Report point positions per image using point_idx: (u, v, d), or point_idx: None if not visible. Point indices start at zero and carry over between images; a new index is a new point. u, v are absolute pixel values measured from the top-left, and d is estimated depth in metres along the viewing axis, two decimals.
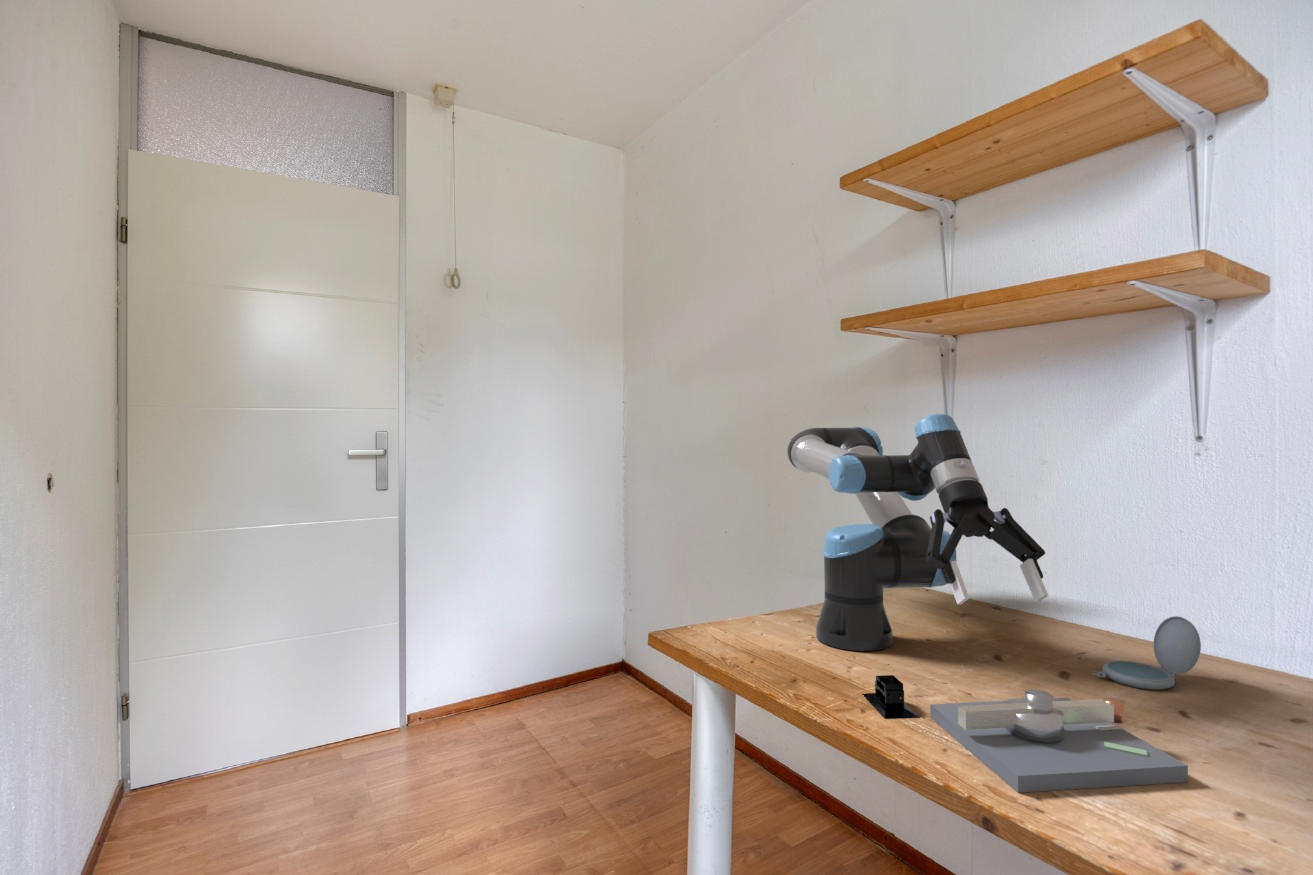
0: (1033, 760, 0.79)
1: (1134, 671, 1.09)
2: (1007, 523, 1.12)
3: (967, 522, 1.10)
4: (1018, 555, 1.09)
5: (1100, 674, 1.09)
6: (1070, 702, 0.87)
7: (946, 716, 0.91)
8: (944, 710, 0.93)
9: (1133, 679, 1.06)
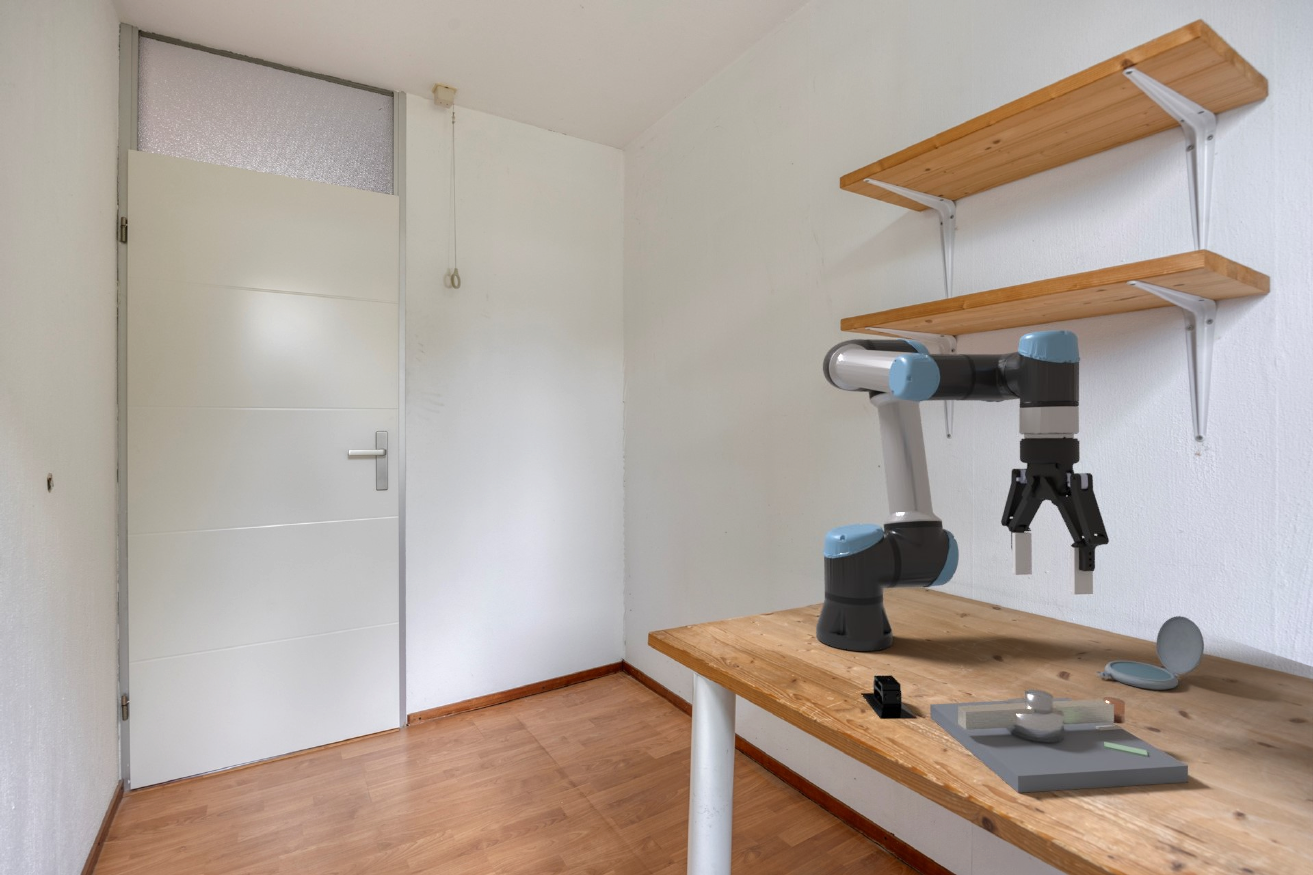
0: (1033, 760, 0.79)
1: (1137, 671, 1.09)
2: None
3: None
4: (1021, 523, 1.00)
5: (1103, 674, 1.09)
6: (1070, 702, 0.87)
7: (946, 716, 0.91)
8: (944, 710, 0.93)
9: (1136, 679, 1.06)
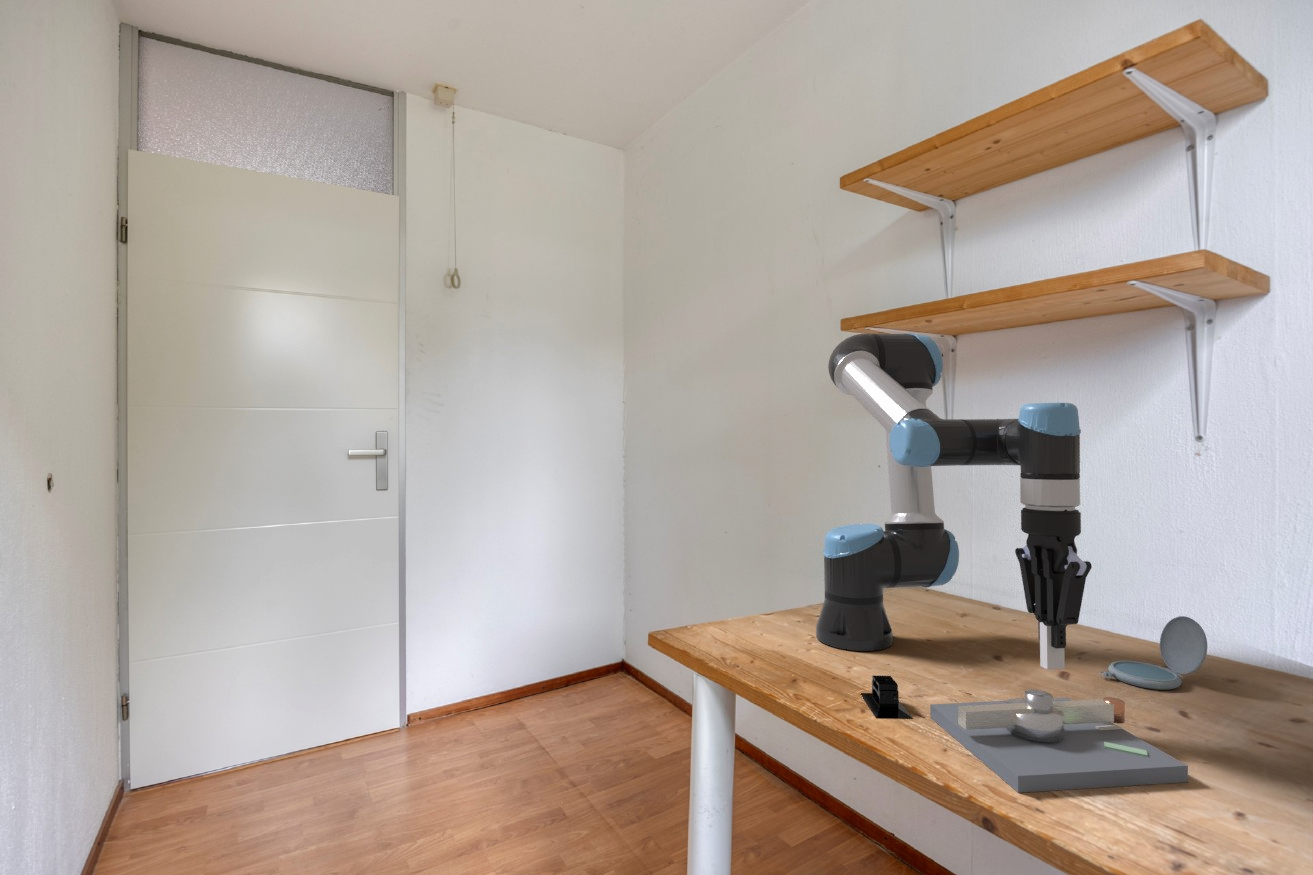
0: (1033, 760, 0.79)
1: (1140, 671, 1.09)
2: None
3: None
4: (1045, 607, 0.94)
5: (1106, 674, 1.09)
6: (1070, 702, 0.87)
7: (946, 716, 0.91)
8: (944, 710, 0.93)
9: (1139, 679, 1.06)
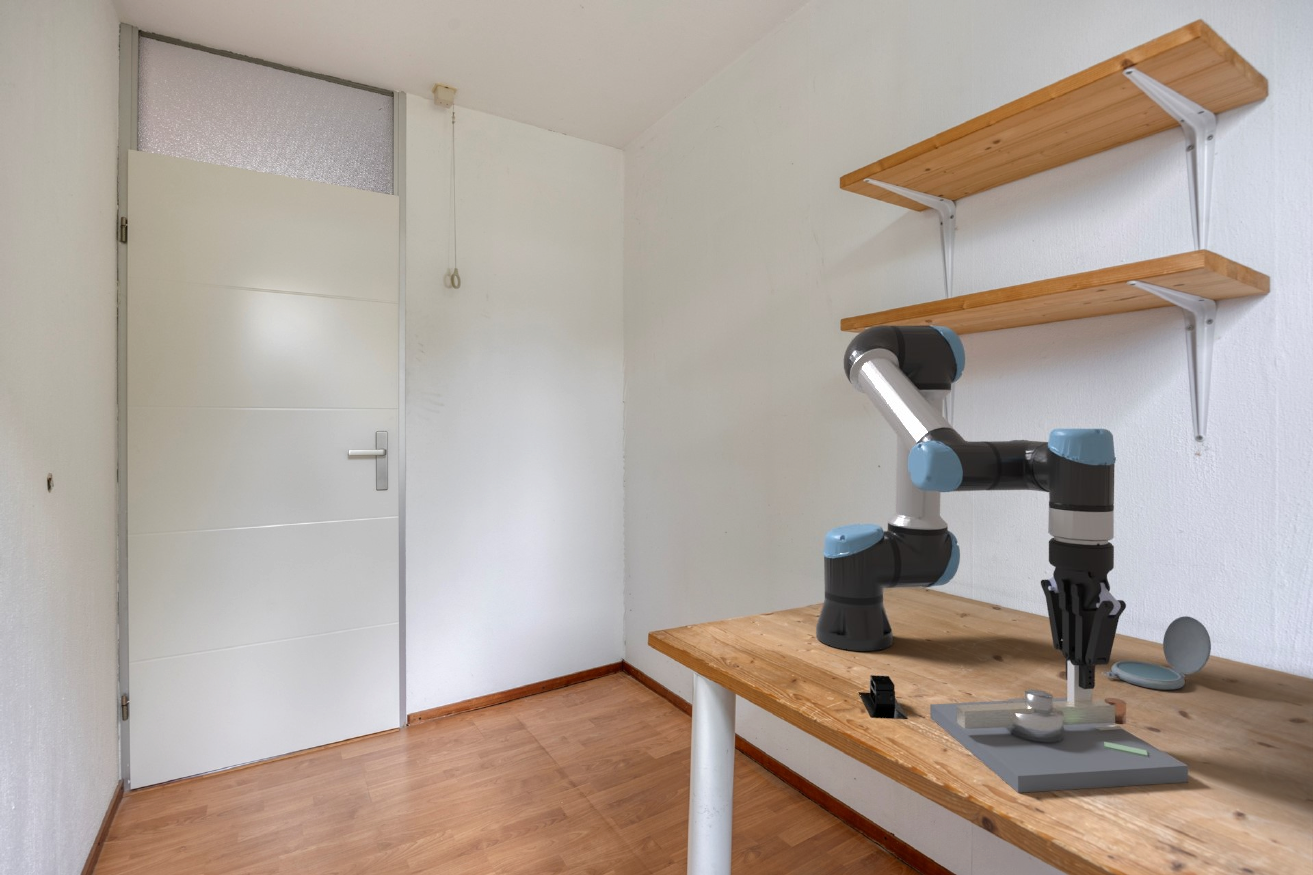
0: (1033, 760, 0.79)
1: (1144, 671, 1.09)
2: None
3: None
4: (1073, 644, 0.89)
5: (1109, 674, 1.09)
6: (1071, 702, 0.87)
7: (946, 716, 0.91)
8: (944, 710, 0.93)
9: (1143, 679, 1.06)
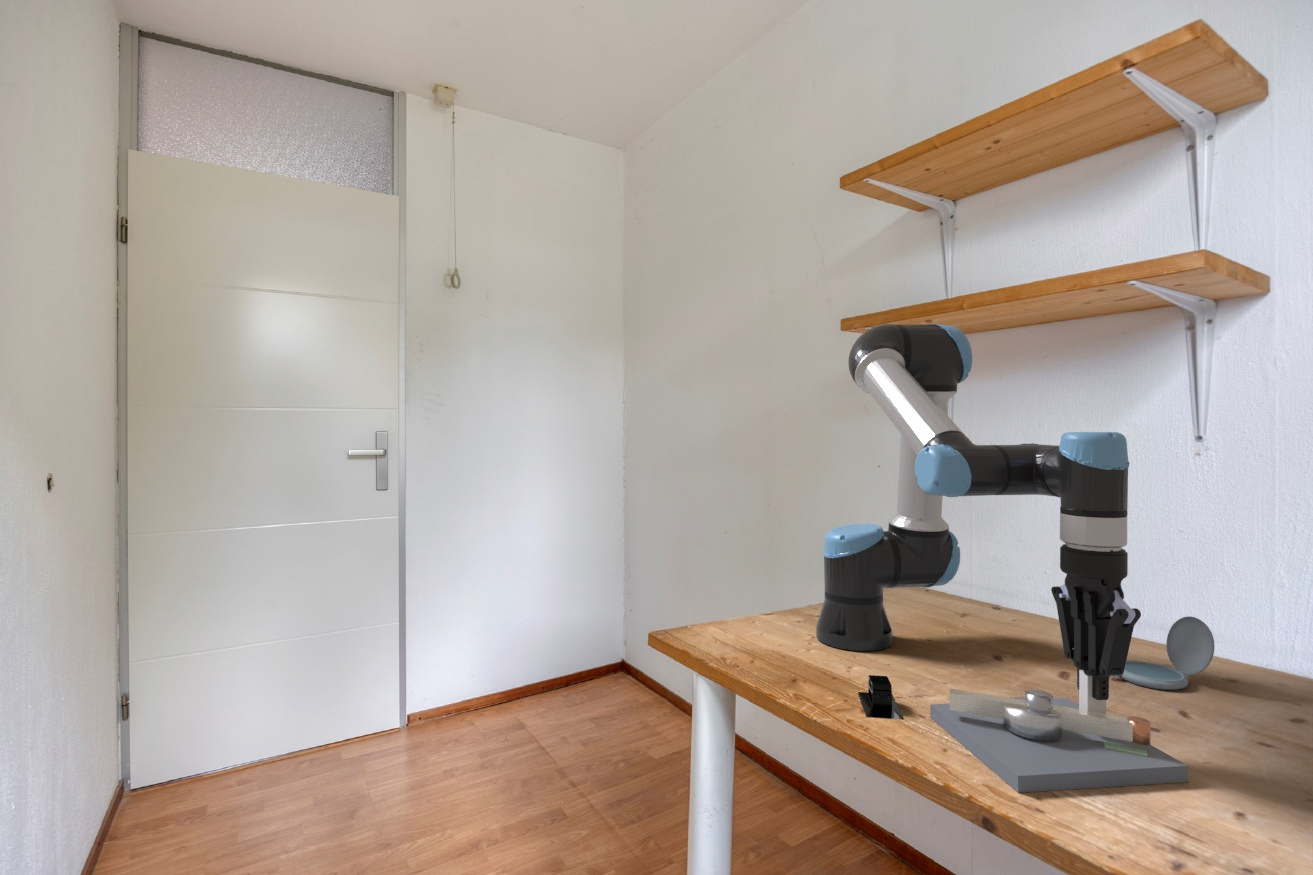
0: (1033, 760, 0.79)
1: (1147, 671, 1.09)
2: None
3: None
4: (1085, 653, 0.86)
5: None
6: (1081, 711, 0.84)
7: (946, 716, 0.91)
8: (944, 710, 0.93)
9: (1146, 679, 1.06)
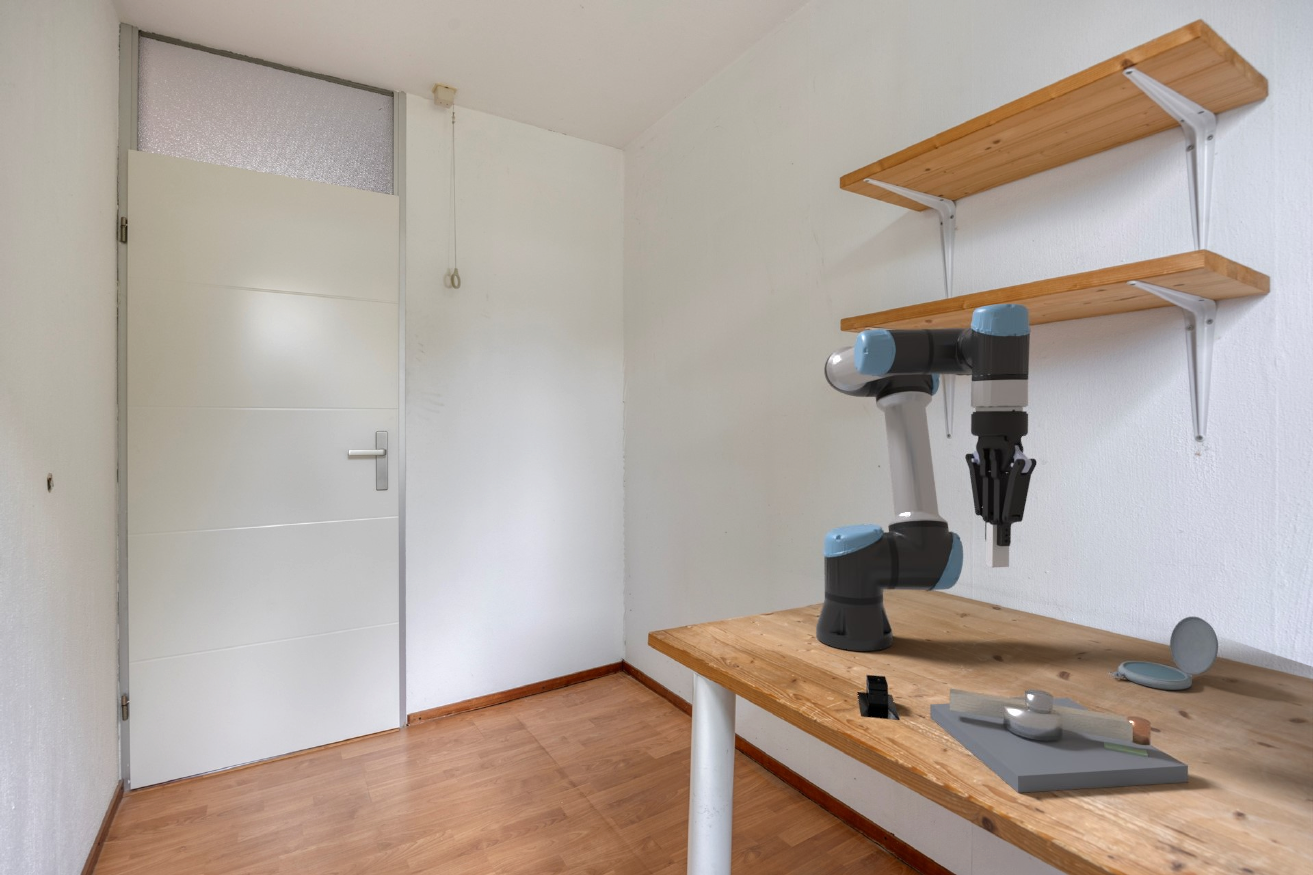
0: (1033, 760, 0.79)
1: (1151, 671, 1.09)
2: None
3: None
4: (992, 508, 0.96)
5: (1116, 674, 1.09)
6: (1081, 711, 0.84)
7: (946, 716, 0.91)
8: (944, 710, 0.93)
9: (1150, 679, 1.06)
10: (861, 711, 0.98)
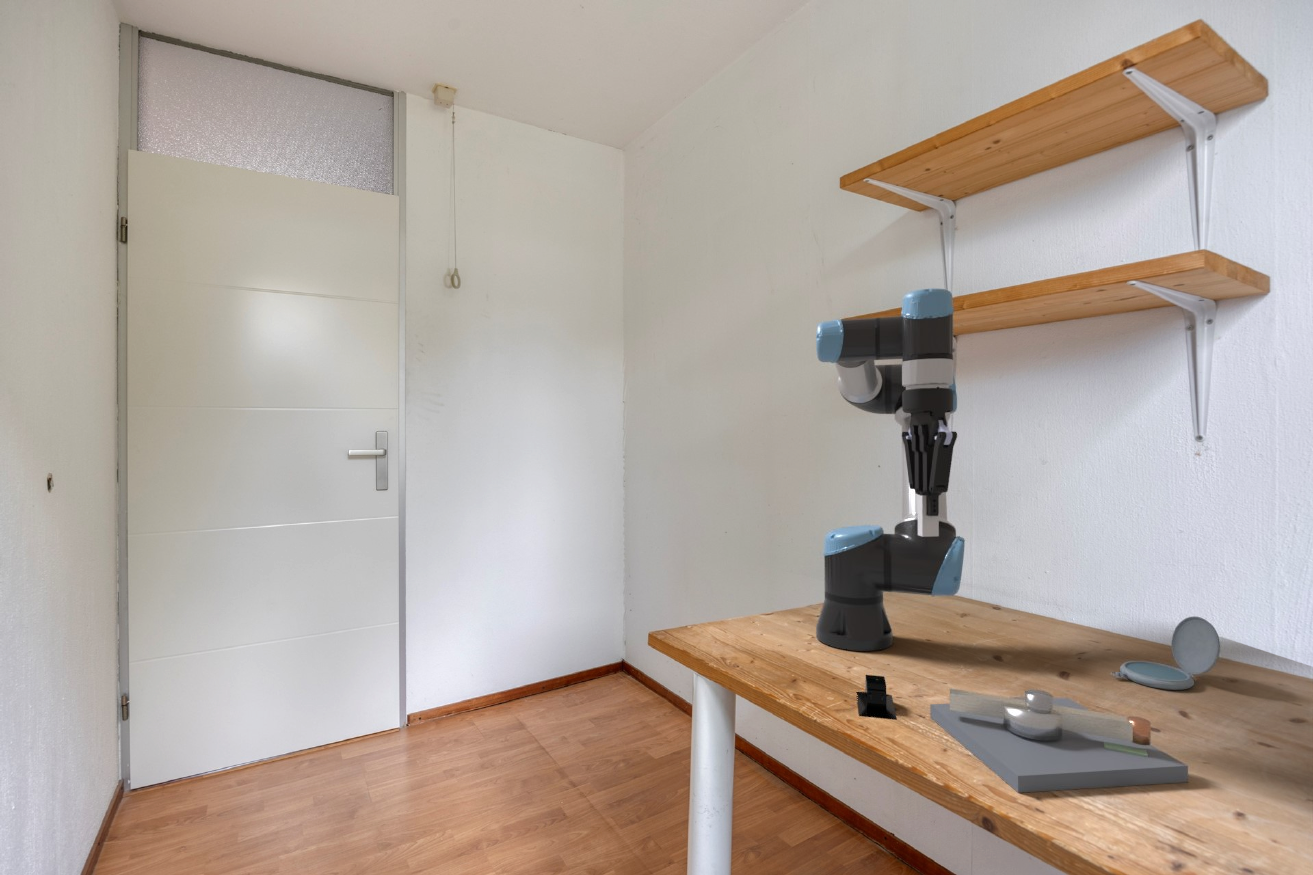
0: (1033, 760, 0.79)
1: (1152, 671, 1.09)
2: None
3: None
4: (923, 481, 1.02)
5: (1118, 674, 1.09)
6: (1081, 711, 0.84)
7: (946, 716, 0.91)
8: (944, 710, 0.93)
9: (1152, 679, 1.06)
10: (859, 711, 0.98)
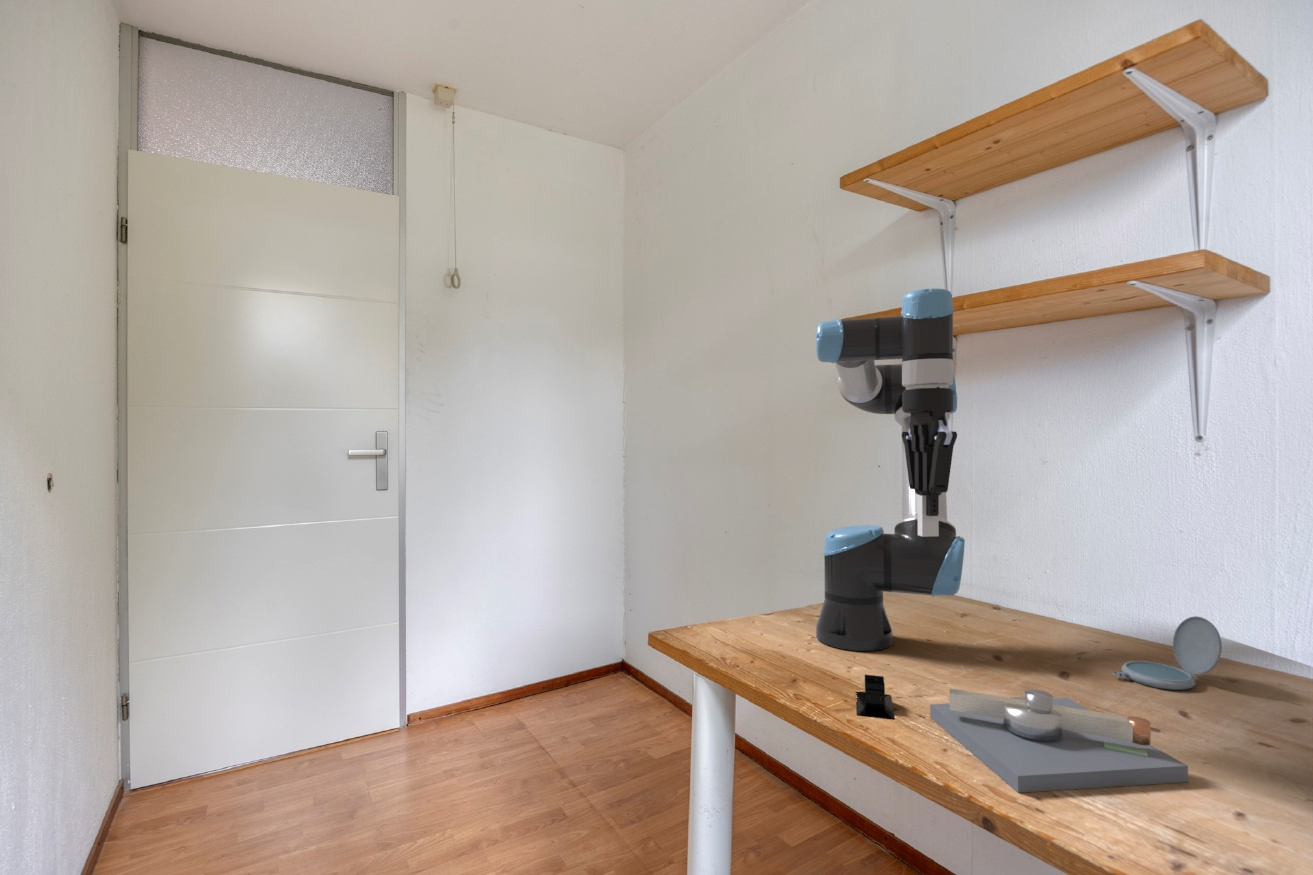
0: (1033, 760, 0.79)
1: (1154, 671, 1.09)
2: None
3: None
4: (923, 481, 1.02)
5: (1120, 674, 1.09)
6: (1081, 711, 0.84)
7: (946, 716, 0.91)
8: (944, 710, 0.93)
9: (1153, 679, 1.06)
10: (857, 710, 0.98)
